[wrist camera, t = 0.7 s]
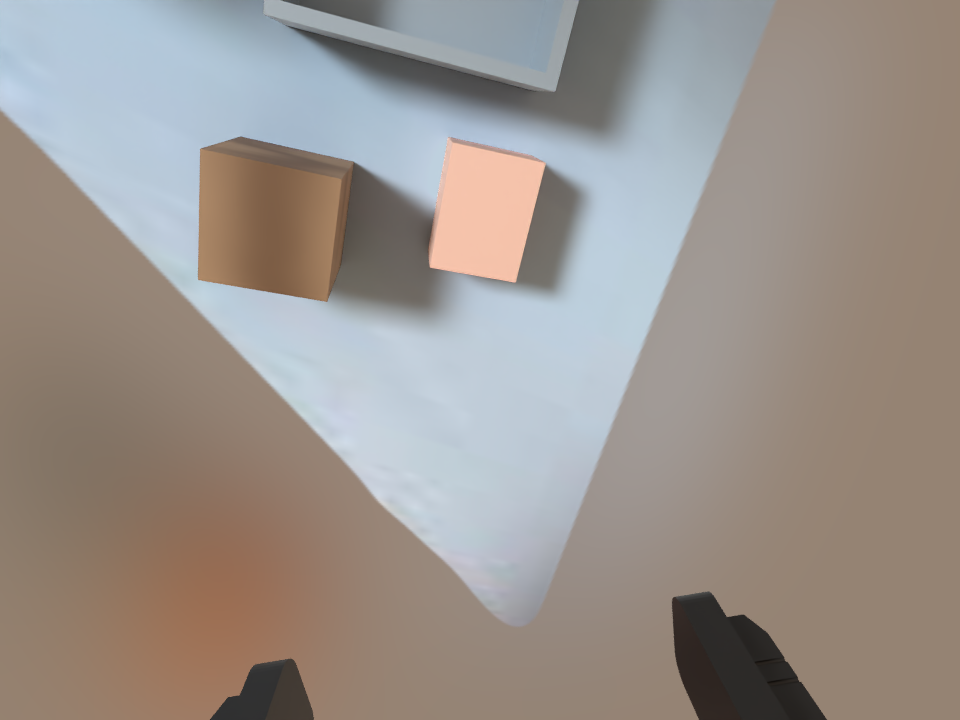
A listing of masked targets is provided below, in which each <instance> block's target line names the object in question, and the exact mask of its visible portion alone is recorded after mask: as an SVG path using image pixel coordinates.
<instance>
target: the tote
mask: <svg viewBox="0 0 960 720" xmlns="http://www.w3.org/2000/svg"><path fill="white" fill-rule="evenodd" d="M578 2H579V0H264V9H263V14H264V15H266V16H268V17H270V18H272V19H274V20H276V21H278V22H280V23H282V24H284V25H286V26H290V27H293V28H297V29H301V30H305V31H309V32H312V33H316V34H320V35H324V36H327V37H331V38H335V39H339V40H343V41H346V42H350V43H354V44H358V45H361V46H365V47H369V48H373V49H377V50H380V51H384V52H388V53H392V54H395V55H399V56H403V57H407V58H411V59H414V60H418V61H422V62H426V63H429V64H433V65H437V66H441V67H445V68H448V69H452V70H456V71H460V72H463V73H467V74H471V75H475V76H479V77H482V78H486V79H490V80H494V81H497V82H501V83H505V84H509V85H513V86H516V87H520V88H524V89H528V90H531V91H544V92H555V91H556V87H557V84H558V80H559V76H560V72H561V68H562V64H563V60H564V56H565V53H566V49H567V45H568V41H569V37H570V33H571V29H572V26H573V22H574V18H575V14H576V10H577V6H578Z"/></svg>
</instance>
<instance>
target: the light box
mask: <svg viewBox="0 0 960 720" xmlns="http://www.w3.org/2000/svg"><path fill="white" fill-rule="evenodd" d="M545 164H546V163H544V162H543V161H541V160H539V159H537V158H535V157H534V156H532V155H527V154H523V153H518V152H514V151H509V150H505V149H500V148H496V147H491V146H487V145H482V144H478V143H473V142H469V141H465V140H460V139H456V138H451V137H448V140H447V146H446V152H445V157H444V163H443V169H442V174H441V180H440V185H439V191H438V197H437V202H436V208H435V213H434V219H433V225H432V230H431V236H430V242H429V247H428V255H429V264H430V268H436V269H441V270H447V271H453V272H458V273H464V274H470V275H475V276H481V277H487V278H492V279H498V280H504V281H510V282H515V283H516V279H517V275H518V271H519V267H520V263H521V259H522V255H523V251H524V247H525V243H526V239H527V235H528V231H529V227H530V223H531V219H532V215H533V211H534V207H535V203H536V199H537V196H538V192H539V188H540V184H541V180H542V176H543V172H544V168H545Z"/></svg>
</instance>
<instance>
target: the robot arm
mask: <svg viewBox="0 0 960 720" xmlns="http://www.w3.org/2000/svg"><path fill="white" fill-rule="evenodd" d="M672 612H673V628H674V646H675V657H676V662H677V666H678V670H679V673H680V676H681V679H682V682H683V684H684V687H685V689H686V691H687V694H688V696H689V698H690V700H691V703H692V705H693V707H694V709H695V711H696V714H697V716H698V718H699V720H827V719H826V718H825V716H824V715H823V713H822V712H821V710H820V709H819V707H818V706H817V705H816V703H815V702H814V700H813V699H812V697H811V696H810V694H809V693H808V691H807V690H806V688H805V687H804V686H803V684H802V683H801V682H799V680H798V677H797V675H796V674H795V673H794V671H793V669H792V668H791V667H790V665H789V664H788V662H786V661H785V659H784V656H783V655H782V654H781V652H780V650H779V649H778V648H777V646H776V645H775V643H774V642H773V640H772V639H771V637H770V636H769V634H768V633H767V632H765V631H764V630H763V629H762V628H760V627H759V626H758V625H756V624H755V623H754V622H753V621H751V620H750V619H749V618H747V617H746V616H745V615H738V616H732V617H726V615H725V613H724V612H723V610H722V609H721V607H720V605H719V604H718V602H717V600H716V599H715V597H714V596H713V595H712V594H711V593H710V592H702V593H696V594H691V595H684V596H678V597H674V598H673V599H672ZM210 720H314V717H313V711H312V708H311V705H310V702H309V700H308V696H307V694H306V691H305V688H304V685H303V682H302V680H301V677H300V674H299V671H298V668H297V665H296V663H295V661H294V660H293V659H285V660H279V661H273V662H267V663H261V664H256V665H254V666H253V667H252V669H251V670H250V672H249V674H248V677H247V679H246V682H245V684H244V687H243V689H242V691H241V694H240V695H239V696H233V697H228V698H227V699H226V700H225V702H224V703H223V704H222V705H221V707H220V708H219V709H218V710H217V712H216V713H215V714H214V715H213V716H212V718H211V719H210Z"/></svg>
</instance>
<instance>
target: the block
mask: <svg viewBox="0 0 960 720" xmlns="http://www.w3.org/2000/svg"><path fill="white" fill-rule="evenodd" d="M353 165H354V162H352V161H348V160H343V159H339V158H334V157H330V156H325V155H321V154H316V153H312V152H307V151H303V150H298V149H294V148H289V147H285V146H280V145H276V144H271V143H267V142H262V141H258V140H253V139H249V138H244V137H238V138H235V139H231V140H228V141H225V142H221V143H218V144H215V145H211V146H208V147H205V148H201V149H200V195H199V255H198V280H202V281H207V282H213V283H219V284H225V285H231V286H237V287H243V288H249V289H255V290H261V291H266V292H272V293H278V294H284V295H290V296H296V297H302V298H308V299H314V300H320V301H326V302H327V300H328V298H329V295H330V292H331V290H332V287H333V284H334V282H335V279H336V276H337V274H338V271H339V268H340V265H341V260H342V252H343V244H344V236H345V228H346V220H347V212H348V205H349V197H350V189H351V181H352V173H353Z"/></svg>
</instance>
